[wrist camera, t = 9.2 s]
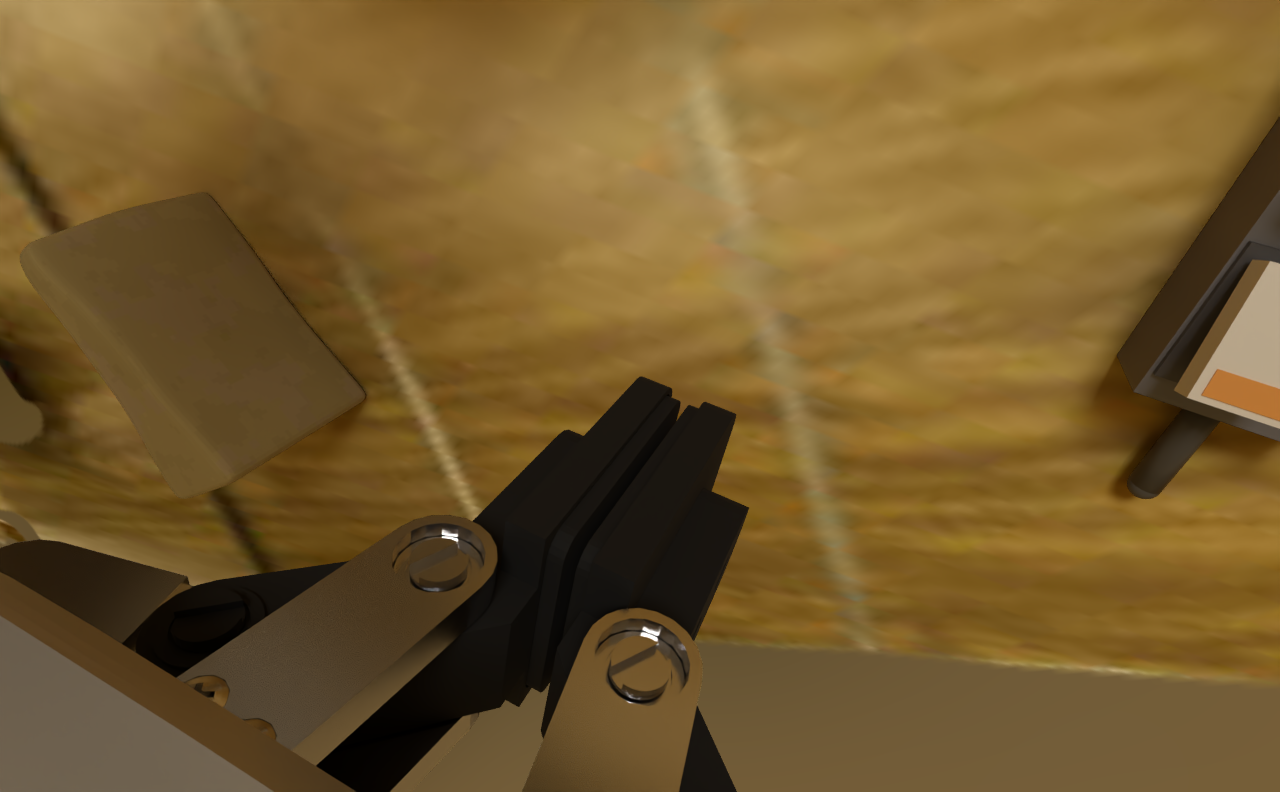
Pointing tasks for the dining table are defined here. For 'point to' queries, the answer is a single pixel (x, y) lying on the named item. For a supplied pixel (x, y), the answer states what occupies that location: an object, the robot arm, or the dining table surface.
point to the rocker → (1242, 351)
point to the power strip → (1202, 315)
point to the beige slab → (190, 338)
